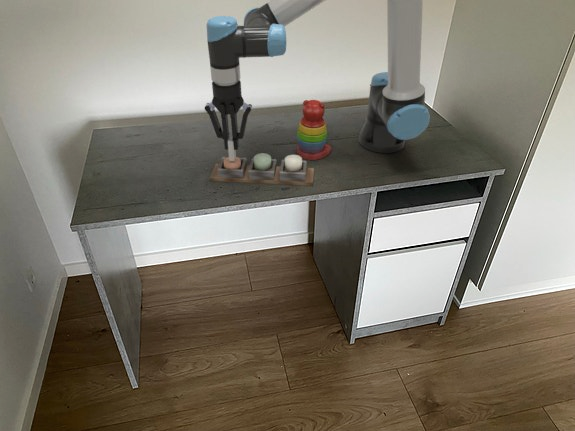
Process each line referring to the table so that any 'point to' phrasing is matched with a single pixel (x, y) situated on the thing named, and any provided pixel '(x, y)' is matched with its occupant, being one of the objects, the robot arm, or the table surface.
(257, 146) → the table surface
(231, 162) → the terracotta button
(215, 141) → the table surface
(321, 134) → the stacking bear
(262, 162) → the sage button
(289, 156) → the ivory button
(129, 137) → the table surface
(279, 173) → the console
